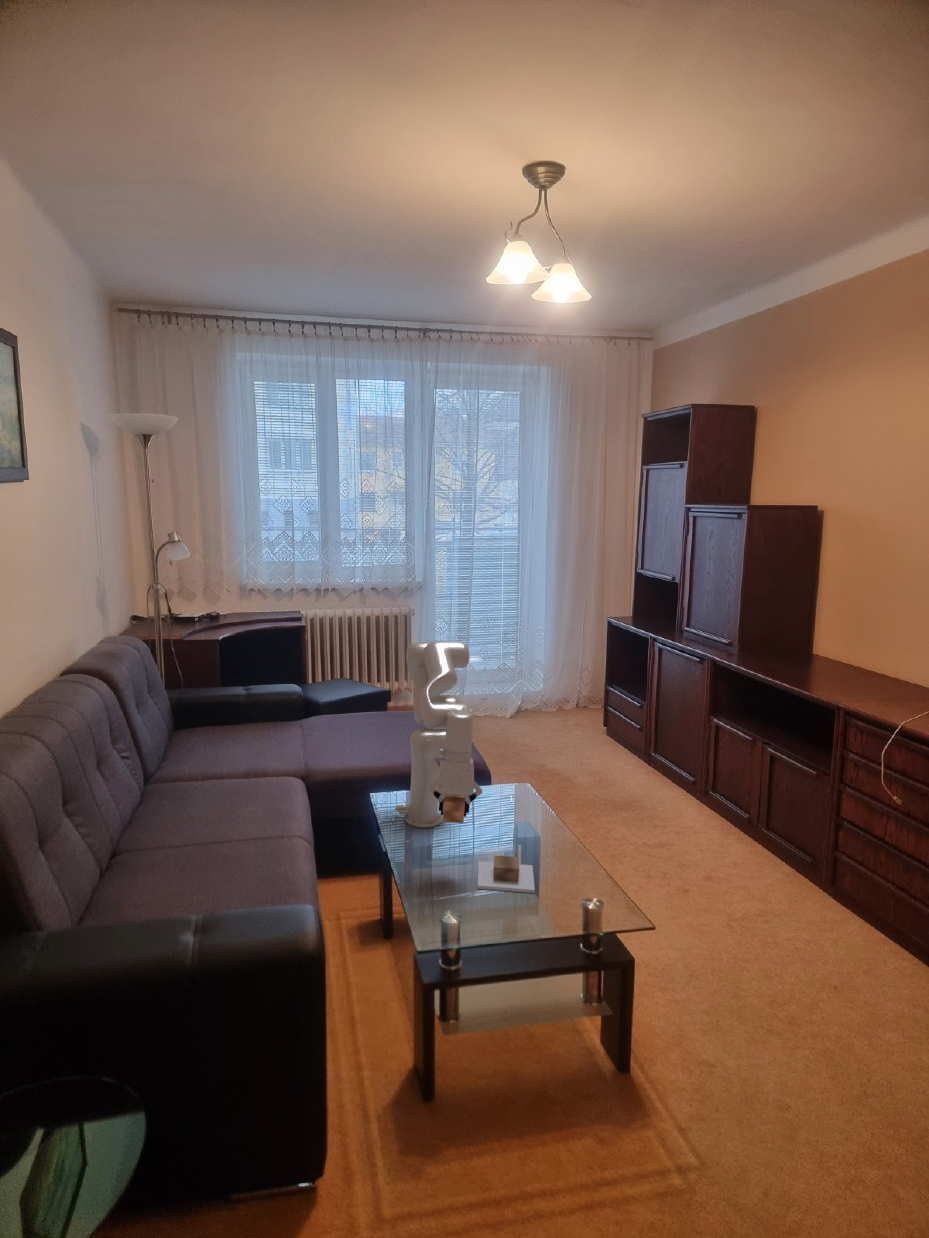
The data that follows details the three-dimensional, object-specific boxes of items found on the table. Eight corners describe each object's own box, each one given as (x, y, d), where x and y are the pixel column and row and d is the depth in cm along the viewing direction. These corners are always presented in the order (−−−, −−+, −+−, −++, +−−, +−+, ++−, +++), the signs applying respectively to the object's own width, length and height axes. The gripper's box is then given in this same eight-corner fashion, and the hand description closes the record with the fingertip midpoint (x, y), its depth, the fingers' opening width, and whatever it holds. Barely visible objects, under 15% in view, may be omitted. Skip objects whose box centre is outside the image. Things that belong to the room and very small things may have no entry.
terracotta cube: (442, 821, 215) (443, 801, 214) (443, 812, 221) (444, 793, 220) (463, 823, 215) (464, 803, 214) (464, 814, 221) (465, 794, 220)
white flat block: (477, 888, 213) (478, 872, 212) (478, 864, 227) (479, 848, 226) (534, 892, 212) (535, 876, 211) (532, 868, 226) (533, 852, 225)
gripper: (426, 756, 211) (422, 817, 215) (488, 761, 211) (483, 822, 214) (428, 747, 219) (424, 806, 222) (488, 752, 218) (483, 810, 222)
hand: (453, 813), depth 218 cm, fingers closed on terracotta cube, 6 cm apart
